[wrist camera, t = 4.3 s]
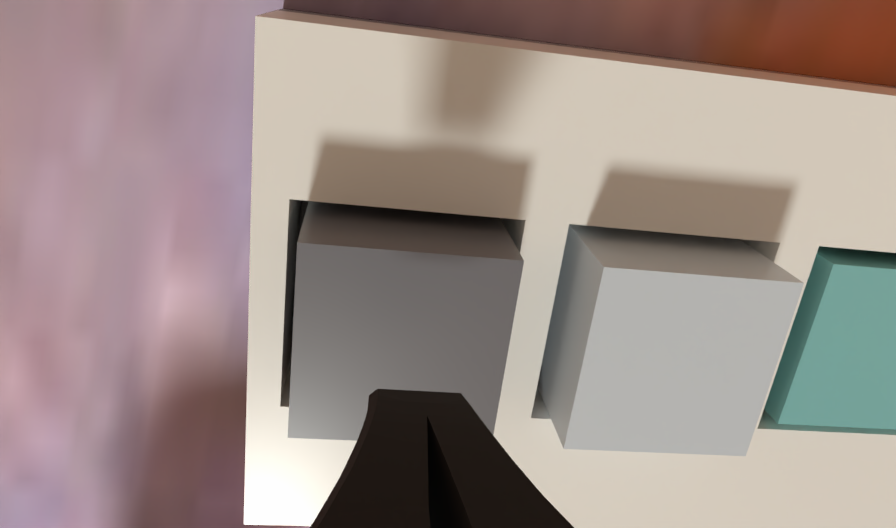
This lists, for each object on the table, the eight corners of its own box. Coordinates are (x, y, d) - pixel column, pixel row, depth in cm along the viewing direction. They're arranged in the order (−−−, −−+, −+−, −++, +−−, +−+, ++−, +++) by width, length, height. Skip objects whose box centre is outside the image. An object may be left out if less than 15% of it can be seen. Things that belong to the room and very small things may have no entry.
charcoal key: (494, 207, 15) (524, 260, 12) (469, 365, 17) (491, 446, 14) (311, 191, 15) (297, 242, 12) (302, 355, 16) (287, 437, 13)
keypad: (951, 93, 18) (1101, 121, 14) (817, 446, 22) (908, 539, 18) (282, 8, 16) (254, 15, 12) (267, 422, 19) (243, 524, 16)
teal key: (896, 230, 18) (998, 278, 15) (846, 364, 20) (931, 431, 17) (755, 217, 18) (833, 264, 15) (714, 355, 19) (777, 424, 16)
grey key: (724, 228, 16) (804, 283, 13) (682, 376, 18) (745, 455, 15) (559, 213, 16) (604, 266, 13) (529, 368, 17) (563, 449, 14)
